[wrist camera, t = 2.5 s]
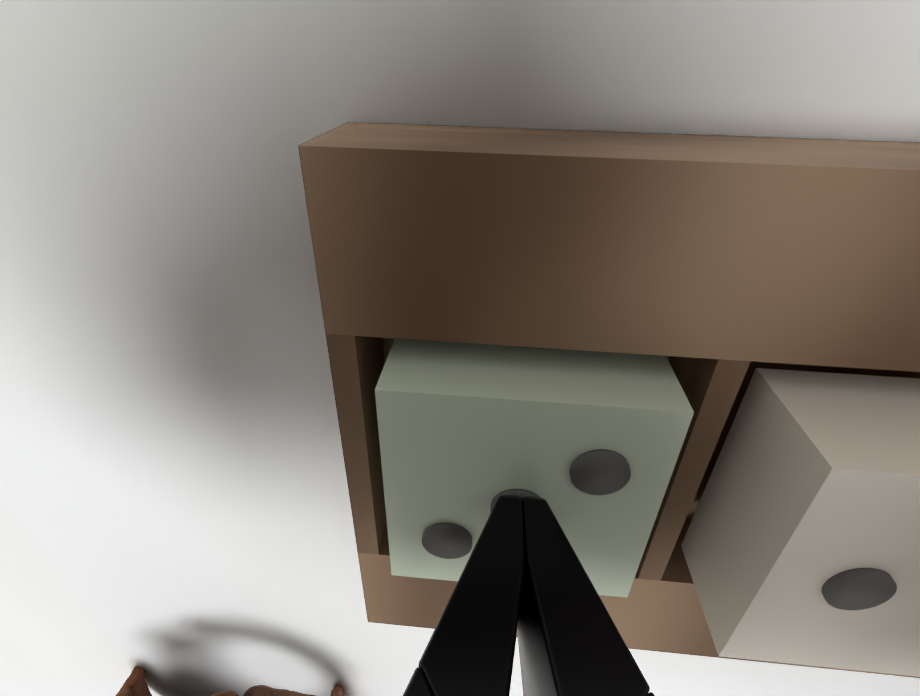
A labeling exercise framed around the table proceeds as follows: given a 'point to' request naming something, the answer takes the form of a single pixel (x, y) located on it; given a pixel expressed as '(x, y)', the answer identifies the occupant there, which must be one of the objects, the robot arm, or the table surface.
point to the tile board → (608, 291)
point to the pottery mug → (137, 692)
